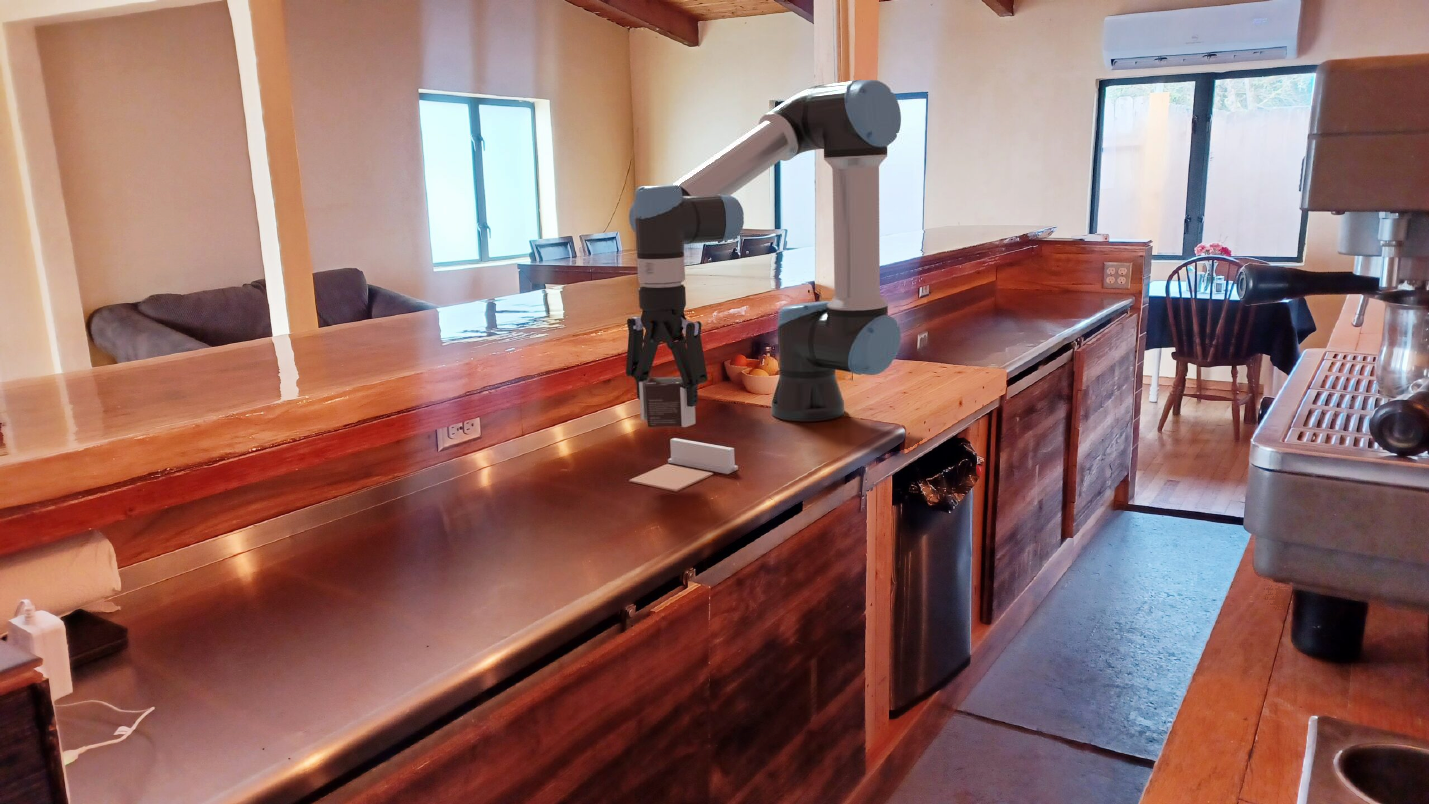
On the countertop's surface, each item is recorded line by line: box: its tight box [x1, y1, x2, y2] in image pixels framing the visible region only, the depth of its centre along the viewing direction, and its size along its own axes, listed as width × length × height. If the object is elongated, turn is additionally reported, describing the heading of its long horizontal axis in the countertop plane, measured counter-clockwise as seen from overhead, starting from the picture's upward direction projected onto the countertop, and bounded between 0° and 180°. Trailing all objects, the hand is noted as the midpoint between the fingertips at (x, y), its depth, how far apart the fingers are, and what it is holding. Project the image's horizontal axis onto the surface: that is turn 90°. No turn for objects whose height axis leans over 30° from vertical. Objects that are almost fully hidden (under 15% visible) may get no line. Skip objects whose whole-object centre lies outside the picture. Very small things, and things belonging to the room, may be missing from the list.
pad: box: [628, 463, 714, 492], centre depth 159 cm, size 10×10×1 cm
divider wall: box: [667, 437, 739, 475], centre depth 164 cm, size 3×13×4 cm, turn 54°
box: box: [645, 376, 684, 428], centre depth 156 cm, size 6×6×7 cm
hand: (667, 421), depth 156 cm, fingers closed on box, 8 cm apart
